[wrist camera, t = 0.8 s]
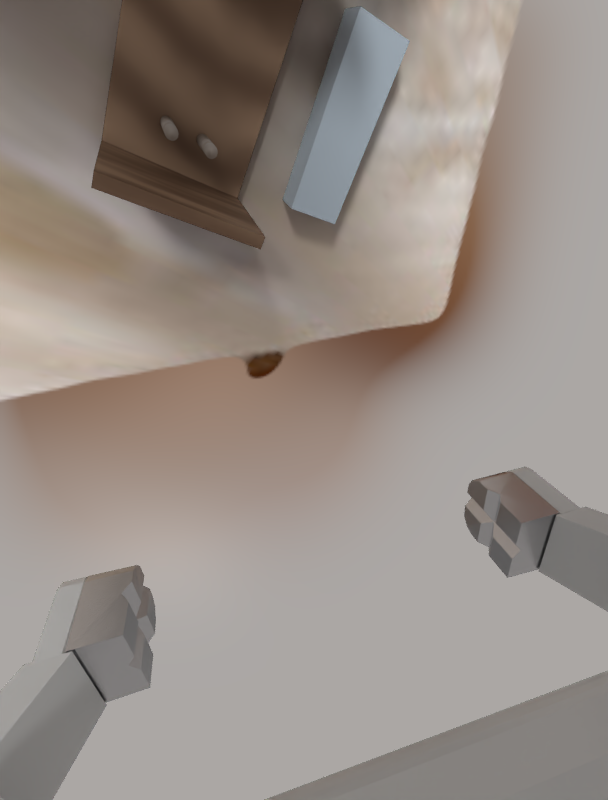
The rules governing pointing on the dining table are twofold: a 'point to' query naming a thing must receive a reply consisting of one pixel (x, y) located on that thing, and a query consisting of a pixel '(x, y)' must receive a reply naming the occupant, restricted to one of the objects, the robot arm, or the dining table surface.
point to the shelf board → (344, 113)
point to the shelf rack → (191, 106)
